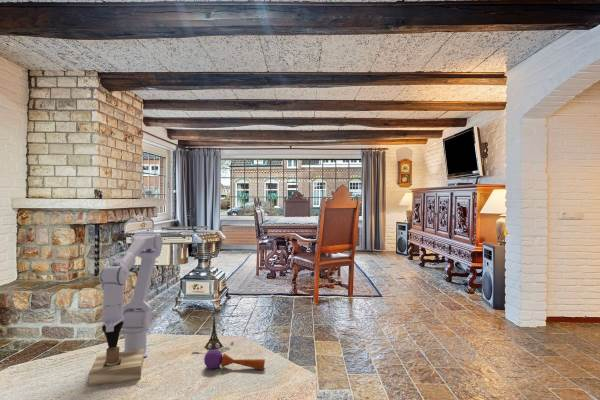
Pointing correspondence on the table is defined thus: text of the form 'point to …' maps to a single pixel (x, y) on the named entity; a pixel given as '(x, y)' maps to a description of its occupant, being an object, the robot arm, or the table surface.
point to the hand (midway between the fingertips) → (112, 346)
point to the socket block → (117, 368)
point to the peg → (112, 356)
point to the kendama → (230, 360)
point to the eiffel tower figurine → (214, 342)
